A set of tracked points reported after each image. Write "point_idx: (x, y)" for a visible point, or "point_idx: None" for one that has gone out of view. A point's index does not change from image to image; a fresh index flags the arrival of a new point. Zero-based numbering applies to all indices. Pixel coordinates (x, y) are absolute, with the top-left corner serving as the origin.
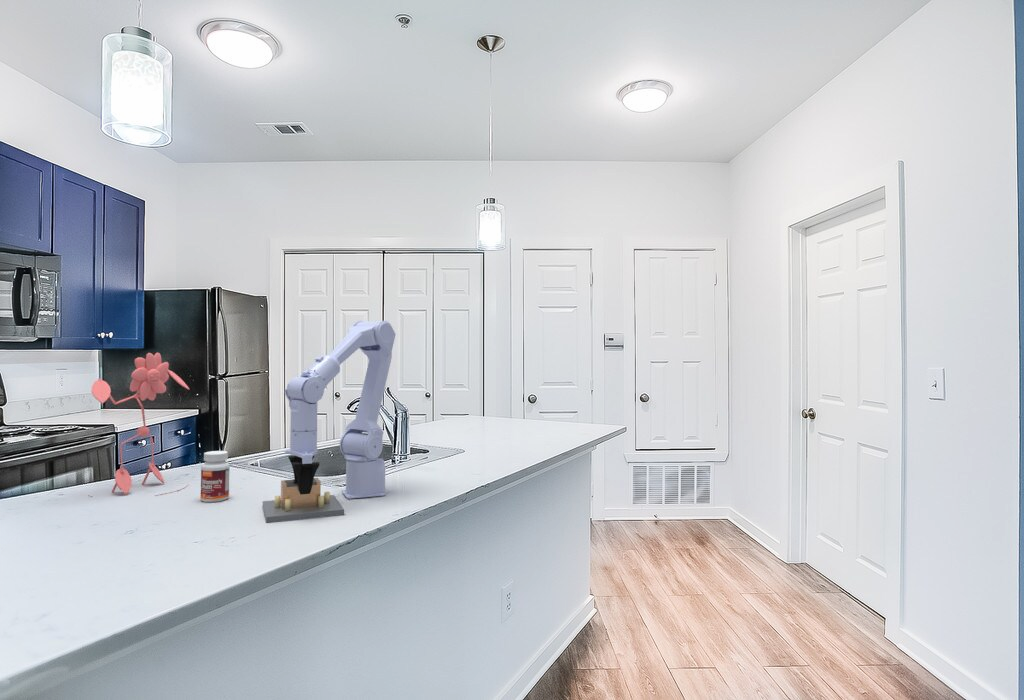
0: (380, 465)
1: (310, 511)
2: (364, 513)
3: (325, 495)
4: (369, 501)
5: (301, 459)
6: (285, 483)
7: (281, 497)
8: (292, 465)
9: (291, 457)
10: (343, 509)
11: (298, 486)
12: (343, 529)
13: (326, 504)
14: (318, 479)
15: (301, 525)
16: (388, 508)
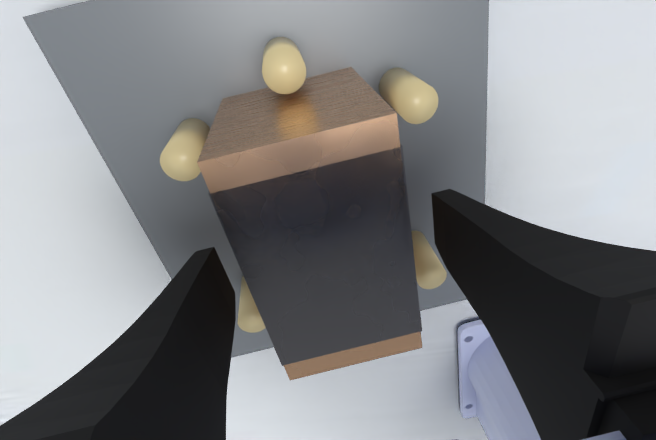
0: None
1: (181, 249)
2: (239, 390)
3: None
4: (406, 382)
5: (561, 388)
6: (253, 176)
7: (304, 94)
8: (533, 268)
9: (622, 330)
10: None
11: (191, 274)
12: (6, 365)
13: None
14: (368, 358)
15: (31, 217)
16: (297, 433)
